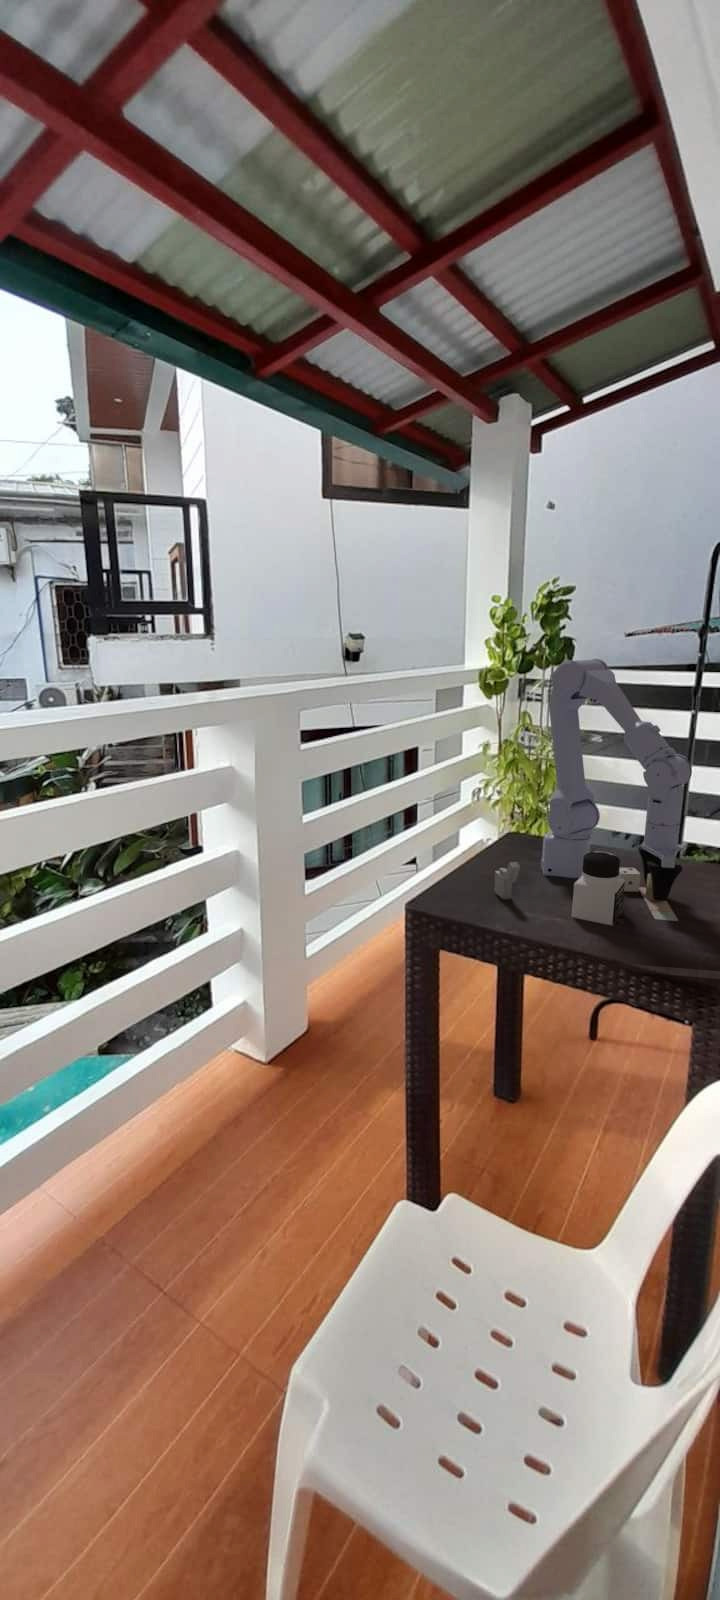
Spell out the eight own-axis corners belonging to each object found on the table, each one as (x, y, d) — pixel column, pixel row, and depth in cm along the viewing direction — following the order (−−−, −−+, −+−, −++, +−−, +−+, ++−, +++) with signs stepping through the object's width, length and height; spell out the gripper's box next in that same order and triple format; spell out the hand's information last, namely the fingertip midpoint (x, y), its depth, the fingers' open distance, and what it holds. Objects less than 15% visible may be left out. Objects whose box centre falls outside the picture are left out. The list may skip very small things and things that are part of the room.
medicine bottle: (612, 930, 119) (618, 863, 116) (570, 921, 123) (575, 856, 120) (622, 916, 125) (627, 852, 122) (581, 908, 129) (586, 845, 126)
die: (620, 891, 134) (621, 873, 133) (613, 884, 138) (615, 867, 137) (639, 891, 134) (640, 873, 133) (632, 885, 138) (634, 867, 137)
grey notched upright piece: (493, 891, 137) (495, 852, 135) (501, 891, 137) (503, 852, 135) (510, 905, 130) (512, 864, 128) (518, 904, 130) (520, 863, 129)
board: (629, 924, 121) (630, 920, 121) (613, 887, 139) (613, 882, 139) (681, 928, 120) (682, 923, 119) (658, 890, 137) (658, 885, 137)
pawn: (647, 901, 129) (650, 865, 127) (643, 894, 132) (647, 859, 131) (666, 902, 128) (670, 866, 127) (662, 896, 132) (666, 860, 130)
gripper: (696, 834, 119) (688, 908, 122) (676, 812, 133) (669, 880, 136) (653, 832, 121) (645, 905, 124) (637, 811, 134) (631, 877, 138)
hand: (655, 892), depth 130 cm, fingers open, 7 cm apart
